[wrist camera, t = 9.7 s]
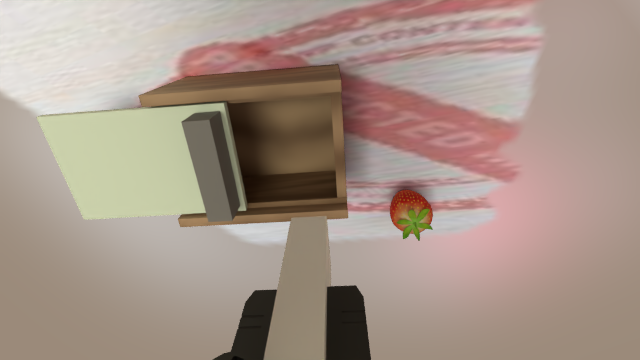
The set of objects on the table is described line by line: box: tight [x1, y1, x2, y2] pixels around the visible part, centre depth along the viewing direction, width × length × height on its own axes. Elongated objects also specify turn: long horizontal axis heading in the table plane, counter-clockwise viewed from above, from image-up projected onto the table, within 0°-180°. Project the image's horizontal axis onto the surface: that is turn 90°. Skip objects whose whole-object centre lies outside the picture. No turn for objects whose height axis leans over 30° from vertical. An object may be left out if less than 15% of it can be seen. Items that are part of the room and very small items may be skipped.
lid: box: [36, 101, 248, 222], centre depth 32 cm, size 11×18×4 cm, turn 95°
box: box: [139, 64, 348, 227], centre depth 37 cm, size 14×18×11 cm
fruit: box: [390, 190, 433, 240], centre depth 42 cm, size 5×5×8 cm
